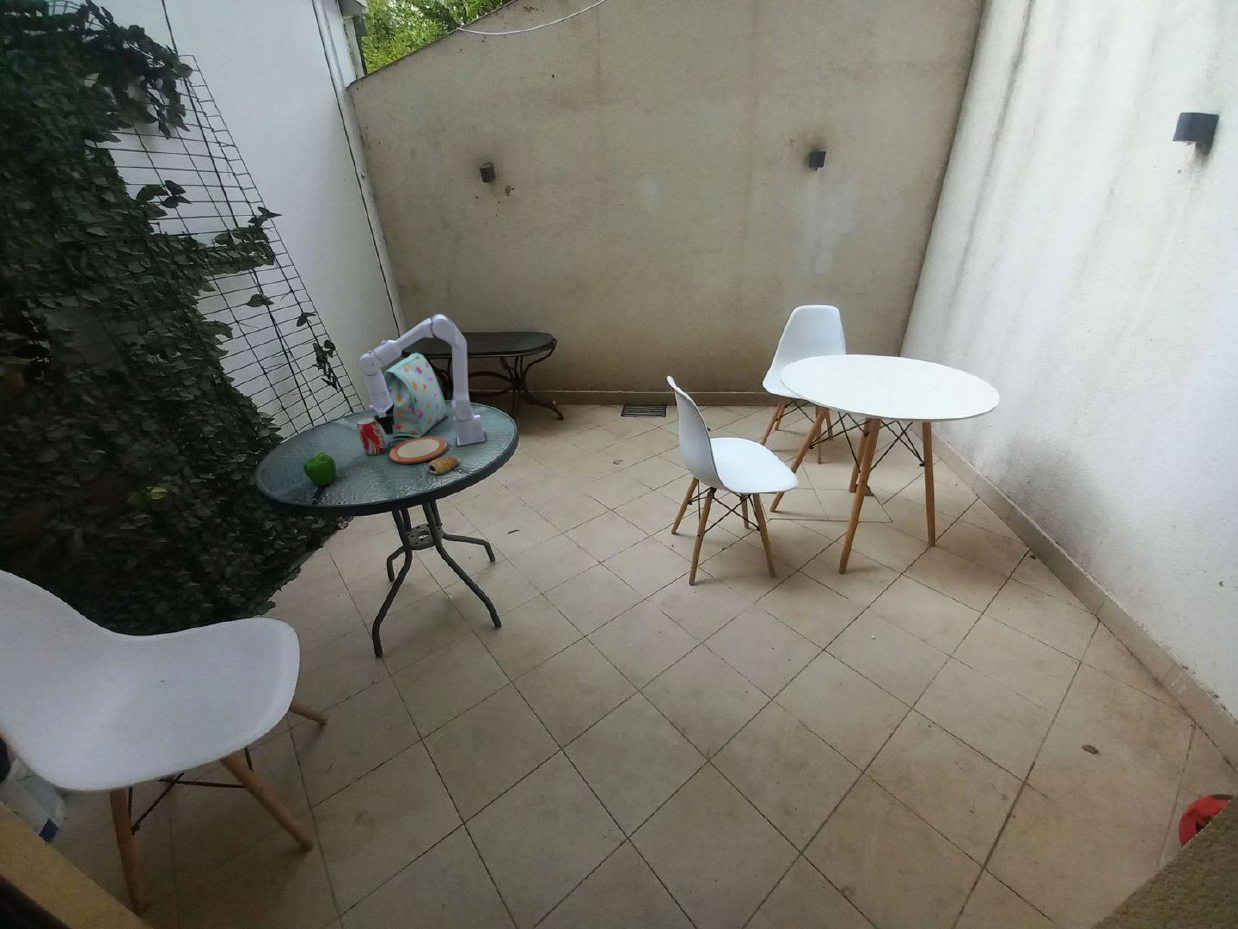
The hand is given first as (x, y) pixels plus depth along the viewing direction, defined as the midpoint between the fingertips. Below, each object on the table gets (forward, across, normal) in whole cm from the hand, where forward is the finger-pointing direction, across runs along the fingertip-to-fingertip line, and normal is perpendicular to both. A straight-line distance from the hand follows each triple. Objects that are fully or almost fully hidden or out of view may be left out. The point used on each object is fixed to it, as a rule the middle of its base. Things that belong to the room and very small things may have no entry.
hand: (390, 429), depth 161 cm
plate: (+10, +1, +7) cm, 12 cm away
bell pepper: (+10, +9, -22) cm, 26 cm away
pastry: (+10, +18, +14) cm, 25 cm away
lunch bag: (+10, -23, +7) cm, 26 cm away
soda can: (+10, -7, -8) cm, 15 cm away
